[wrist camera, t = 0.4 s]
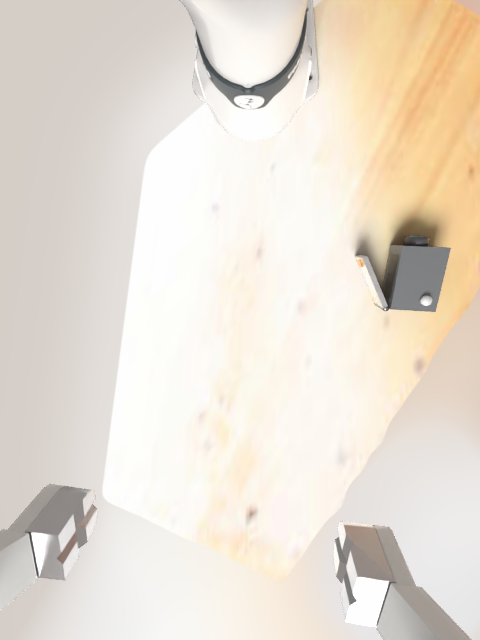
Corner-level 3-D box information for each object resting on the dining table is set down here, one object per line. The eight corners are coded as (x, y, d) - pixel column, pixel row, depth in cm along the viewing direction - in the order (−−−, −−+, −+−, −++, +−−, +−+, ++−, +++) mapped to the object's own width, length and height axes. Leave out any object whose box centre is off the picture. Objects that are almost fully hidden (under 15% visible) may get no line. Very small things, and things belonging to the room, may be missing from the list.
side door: (353, 257, 50) (360, 259, 46) (359, 254, 50) (367, 256, 46) (373, 306, 52) (382, 312, 48) (380, 303, 52) (389, 309, 48)
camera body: (391, 235, 49) (406, 235, 44) (436, 236, 48) (455, 237, 43) (379, 302, 52) (391, 310, 47) (420, 305, 51) (437, 312, 46)
